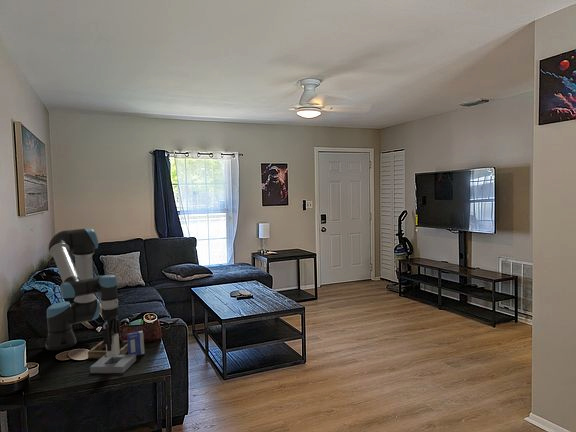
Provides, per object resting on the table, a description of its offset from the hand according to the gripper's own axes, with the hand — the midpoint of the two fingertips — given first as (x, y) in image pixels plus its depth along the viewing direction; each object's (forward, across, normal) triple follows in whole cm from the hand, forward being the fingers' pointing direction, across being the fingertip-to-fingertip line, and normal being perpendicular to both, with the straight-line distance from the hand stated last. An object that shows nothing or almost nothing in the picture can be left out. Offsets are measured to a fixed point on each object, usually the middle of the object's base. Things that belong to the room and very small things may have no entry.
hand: (113, 354), depth 206 cm
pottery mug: (+6, +19, +9) cm, 21 cm away
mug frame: (+6, +17, +10) cm, 21 cm away
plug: (0, 0, 0) cm, 0 cm away
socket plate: (+6, 0, 0) cm, 6 cm away
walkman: (+6, +14, -5) cm, 16 cm away
